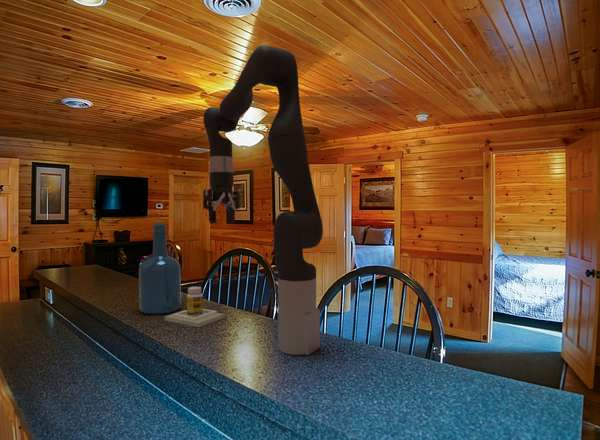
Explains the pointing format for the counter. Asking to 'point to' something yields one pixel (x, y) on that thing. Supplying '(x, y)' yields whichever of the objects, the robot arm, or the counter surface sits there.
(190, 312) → the supplement bottle
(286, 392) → the counter surface
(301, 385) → the counter surface
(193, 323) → the grey-green flat tray
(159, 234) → the wine bottle
